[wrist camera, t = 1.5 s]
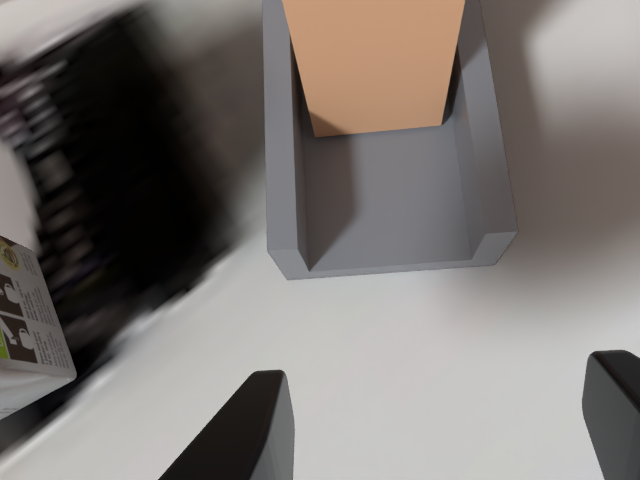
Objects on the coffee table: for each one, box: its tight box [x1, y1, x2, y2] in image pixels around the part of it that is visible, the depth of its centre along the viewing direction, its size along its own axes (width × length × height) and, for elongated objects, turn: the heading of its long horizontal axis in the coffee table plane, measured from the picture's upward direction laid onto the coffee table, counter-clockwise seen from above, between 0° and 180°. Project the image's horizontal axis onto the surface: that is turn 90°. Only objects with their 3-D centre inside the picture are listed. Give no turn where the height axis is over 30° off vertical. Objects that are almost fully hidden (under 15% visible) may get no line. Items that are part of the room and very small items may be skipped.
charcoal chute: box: [262, 0, 518, 280], centre depth 22 cm, size 16×8×4 cm, turn 3°
